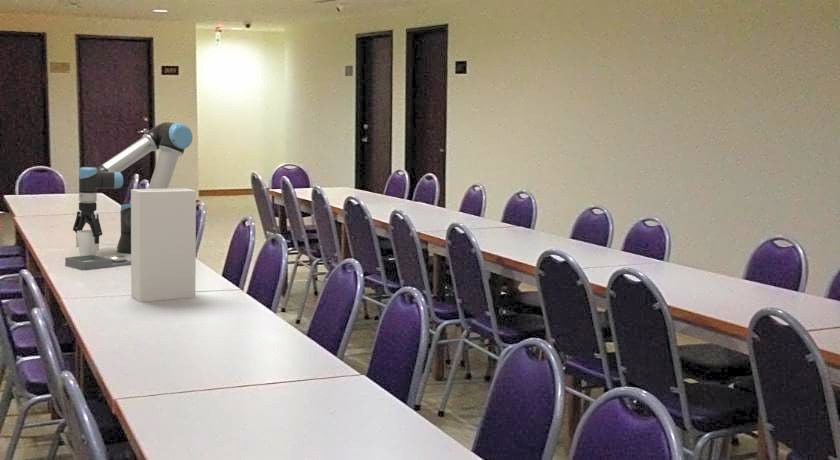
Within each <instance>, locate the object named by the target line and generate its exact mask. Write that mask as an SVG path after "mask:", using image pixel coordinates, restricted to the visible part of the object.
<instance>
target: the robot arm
mask: <svg viewBox="0 0 840 460" xmlns="http://www.w3.org/2000/svg"><path fill="white" fill-rule="evenodd" d="M192 143H193V132H192V131H191V129H190V127H189V126H188V125H186V124H184V123H181V122H169V121H168V122H161V123H159V124H157V125H156V126H154V127H152V128H151V129H150V130H147V131H146V132H145V133H144V134H142V137H141V138H139V139H138V140H137V141H135V142H134V143H132V144H131V145H130V146H128V147H127V148H125V149H123V150H121V151H120V152H119V153H118V154H116V155H114V156H113V157H111V158H110V159H108V160H107V161H105V162H103V164H101V165H100V166H98V167H92V166H91V167H90V166H88V167H87V166H82V167H80V168H79V171H78V201H79V202H78V210H79V211H76V218H75V220H74V224H73V227H72V228H73V229H72V230H73V231H74V232H75V248H79V244H78V237H77V231H80V230H84V227H85V226H86V224H87V225H89V227H90V230H92V233H93V245H92V251H97V252H98V251H100V237H101V236H103V231H102V227H101V223H100V219H99V214H98V213H94V212H96V211H97V210H98V209H97V201H98V199H97V197H98V195H97V193H98V192H97V191H98V189H99V190H100V189H114V190H115V189H121V188H122V186H123V184H124V176H123V174H122V173H121V172H123V171H124V170H126V169H127V168H128V167H130V166H132V165H133V164H134V163H136V162H137V161H139V160H140V159H142V158H144V157H145V156H146V155H148V154H149V153H151V152H156V151H157V150H160V153H159V156H158V157H157V161H156V164H155V167H154V171H153V173H152V176H151V179H150V183H149V184H148V188H147V189H169V187H170V183H171V181H172V177H173V175H174V171H175V169H176V166H177V163H178V160H179V157H180V156H183V155H184V152H185V150H186V149H187V148H189V147H190V146H191V144H192ZM119 212H120V238H119V240H118V243H117V245H116V251H117V252H118V253H123V254H124V253H125V254H131V203H126V204H124V203H122V204H121V205H120V211H119Z"/></svg>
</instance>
